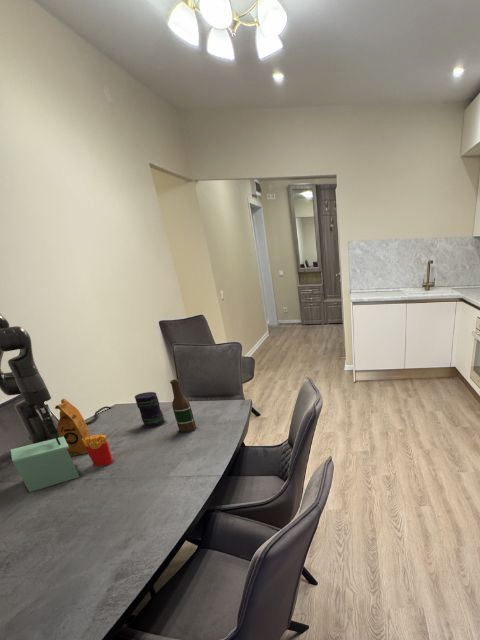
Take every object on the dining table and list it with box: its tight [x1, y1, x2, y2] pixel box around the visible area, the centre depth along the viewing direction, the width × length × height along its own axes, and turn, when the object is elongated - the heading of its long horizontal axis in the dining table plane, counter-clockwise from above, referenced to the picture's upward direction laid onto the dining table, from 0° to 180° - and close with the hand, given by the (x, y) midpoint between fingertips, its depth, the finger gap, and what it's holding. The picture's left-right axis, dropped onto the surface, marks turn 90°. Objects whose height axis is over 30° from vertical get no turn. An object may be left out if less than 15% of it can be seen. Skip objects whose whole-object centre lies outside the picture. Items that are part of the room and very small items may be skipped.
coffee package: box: [54, 398, 92, 457], centre depth 167 cm, size 10×12×22 cm
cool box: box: [13, 449, 80, 493], centre depth 147 cm, size 16×13×12 cm
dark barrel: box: [134, 391, 166, 428], centre depth 193 cm, size 10×10×15 cm
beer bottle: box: [169, 379, 197, 433], centre depth 182 cm, size 8×8×24 cm
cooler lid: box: [10, 433, 69, 464], centre depth 143 cm, size 17×13×6 cm
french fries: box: [82, 434, 114, 467], centre depth 156 cm, size 8×4×12 cm, turn 110°
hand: (53, 431), depth 144 cm, fingers open, 8 cm apart
